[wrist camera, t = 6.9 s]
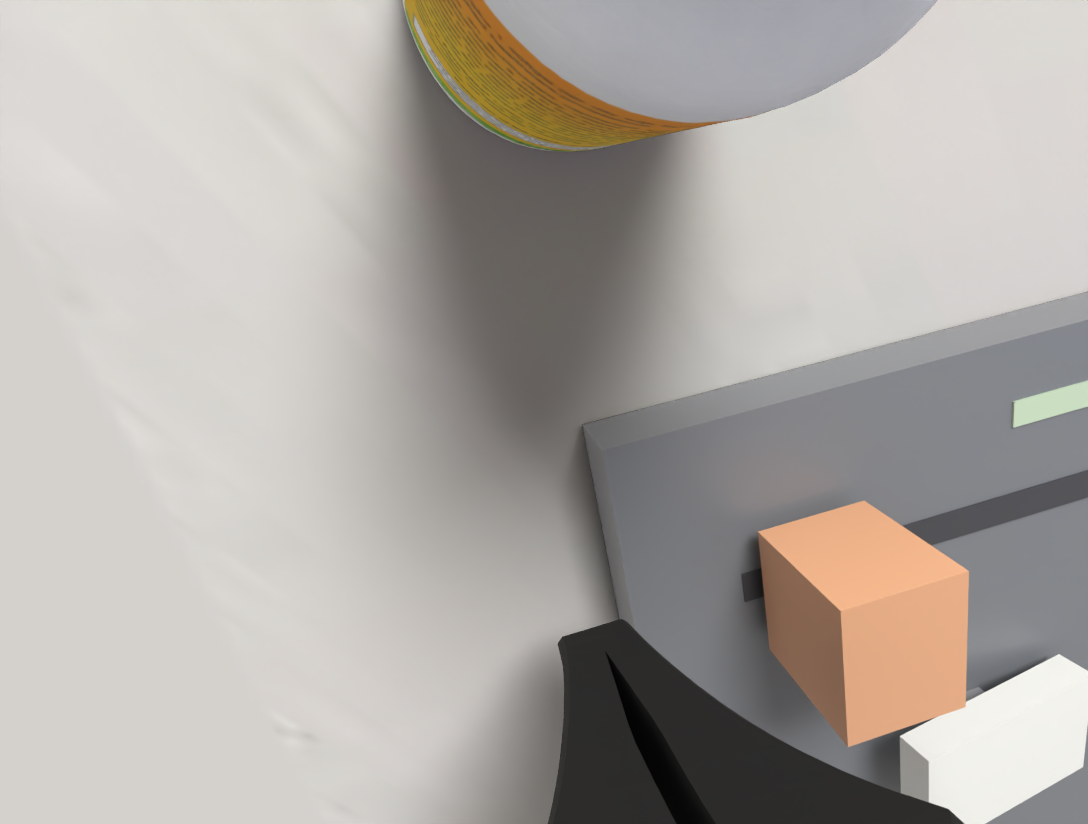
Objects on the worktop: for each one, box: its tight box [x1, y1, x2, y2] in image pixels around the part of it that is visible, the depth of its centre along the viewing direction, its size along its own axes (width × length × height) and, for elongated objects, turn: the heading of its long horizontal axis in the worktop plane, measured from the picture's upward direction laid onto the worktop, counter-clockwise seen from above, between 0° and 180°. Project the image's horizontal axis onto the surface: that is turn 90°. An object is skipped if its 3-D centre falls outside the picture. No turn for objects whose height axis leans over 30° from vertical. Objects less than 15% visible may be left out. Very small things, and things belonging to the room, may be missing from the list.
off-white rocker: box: [900, 654, 1088, 824], centre depth 17 cm, size 5×3×1 cm, turn 102°
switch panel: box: [583, 292, 1088, 824], centre depth 18 cm, size 16×19×2 cm
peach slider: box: [758, 501, 969, 747], centre depth 13 cm, size 2×3×3 cm
